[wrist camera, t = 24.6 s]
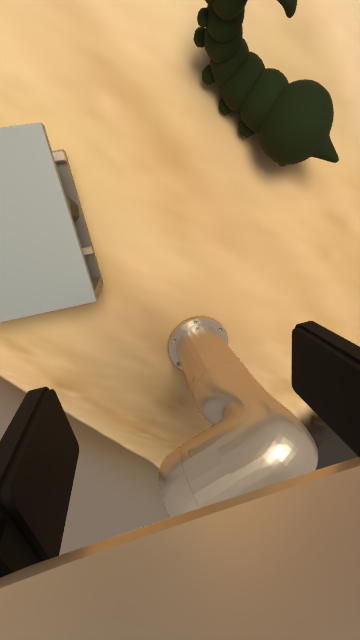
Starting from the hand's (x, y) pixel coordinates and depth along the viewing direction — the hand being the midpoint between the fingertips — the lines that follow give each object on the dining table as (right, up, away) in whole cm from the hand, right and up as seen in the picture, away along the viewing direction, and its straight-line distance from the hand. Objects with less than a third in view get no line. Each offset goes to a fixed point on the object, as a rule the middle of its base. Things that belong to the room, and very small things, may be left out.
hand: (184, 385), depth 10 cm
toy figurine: (+11, +35, +31) cm, 48 cm away
